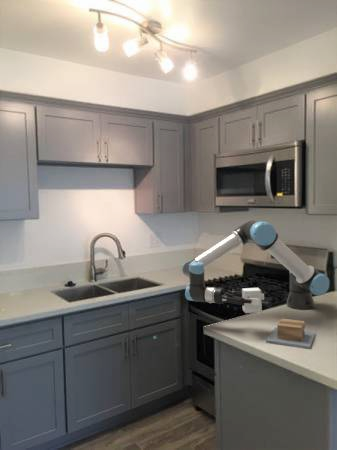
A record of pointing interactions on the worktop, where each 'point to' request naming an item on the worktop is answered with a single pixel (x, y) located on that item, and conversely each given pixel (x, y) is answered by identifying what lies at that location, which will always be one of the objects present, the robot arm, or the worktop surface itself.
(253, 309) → the small box
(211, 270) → the worktop surface
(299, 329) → the walnut plinth
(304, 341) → the base board
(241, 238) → the robot arm
